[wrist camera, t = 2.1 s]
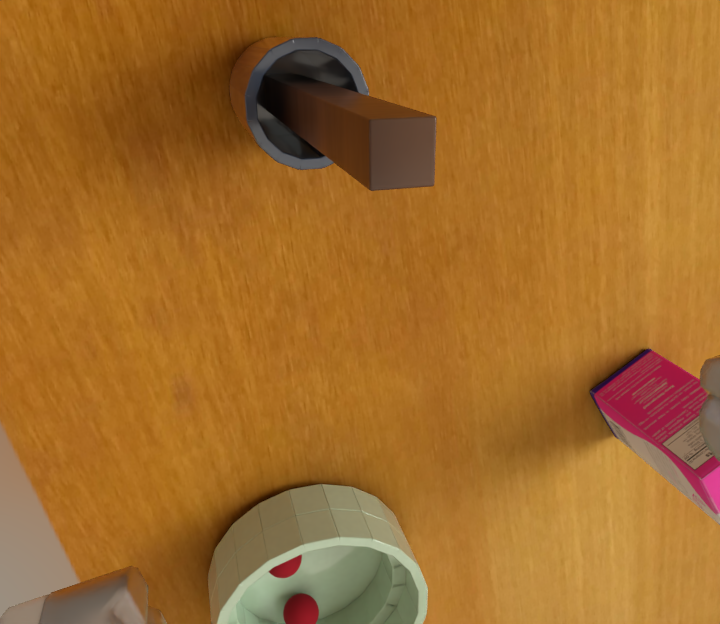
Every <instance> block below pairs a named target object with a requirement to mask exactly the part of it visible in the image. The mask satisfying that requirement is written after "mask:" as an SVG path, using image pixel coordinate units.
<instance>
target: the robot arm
mask: <svg viewBox="0 0 720 624" xmlns="http://www.w3.org/2000/svg"><path fill="white" fill-rule="evenodd" d="M700 386H701V387H702V388H703V389H704V390H705V391H706V392H707V393H708V394H709V395H708V396H707V398H706V400H705V401H704V403H703V405H702V407H701V408H700V410H699V427H700V432H701V434H702V436H703V439H704V441H705V443H706V446H707V448H708V449H709V450H710V451H711V453H712V454H713V455H714V456H715V458H716V459H717V460H718V461H719V462H720V355H718V356H715V357H713V358H710V359H707V360H706V361H705V363H704V365H703V366H702V368H701V371H700ZM0 624H167V623H166V621H165V619H164V617H163V615H162V613H161V611H160V610H157V609H155V608H153V607H150V606H148V585H147V583H146V582H145V580H144V578H143V576H142V574H141V573H140V571H139V569H138V568H136V567H133V566H129V567H126V568H123V569H120V570H117V571H114V572H111V573H108V574H105V575H102V576H99V577H96V578H93V579H90V580H87V581H84V582H81V583H78V584H75V585H72V586H70V587H67V588H63V589H60V590H57V591H55V592H52V593H51V594H49V595H45V596H42V597H39V598H36V599H33V600H30V601H27V602H24V603H21V604H18V605H15V606H12V607H9V608H8V609H7V610H6V612H5V613H4V614H3V615H2V616H1V618H0Z"/></svg>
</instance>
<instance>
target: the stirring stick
mask: <svg viewBox="0 0 720 624" xmlns="http://www.w3.org/2000/svg"><path fill="white" fill-rule="evenodd" d="M264 88H265V103H266V110H267V111H268V112H269V113H270V114H272V115H273V116H274V117H276V118H277V119H278V120H280V121H281V122H282V123H283V124H285V125H286V126H287V127H289V128H290V129H291V130H292V131H294V132H295V133H296V134H298V135H299V136H300V137H302V138H303V139H304V140H305V141H307V142H308V143H309V144H311V145H312V146H313V147H314V148H316V149H317V150H318V151H320V152H321V153H322V154H324V155H325V156H326V157H327V158H329V159H330V160H331V161H333V162H334V163H335V164H337V165H338V166H339V167H340V168H342V169H343V170H344V171H346V172H347V173H348V174H349V175H351V176H352V177H353V178H355V179H356V180H357V181H359V182H360V183H361V184H362V185H364V186H365V187H366V188H368V189H369V190H371V191H376V190H389V189H402V188H416V187H429V186H434V176H435V146H436V117H435V116H432V115H429V114H426V113H423V112H419V111H416V110H413V109H410V108H406V107H403V106H400V105H397V104H393V103H390V102H387V101H384V100H380V99H377V98H374V97H371V96H367V95H364V94H361V93H358V92H354V91H351V90H348V89H345V88H341V87H338V86H335V85H332V84H328V83H325V82H322V81H319V80H315V79H312V78H309V77H306V76H302V75H299V74H270V75H264Z"/></svg>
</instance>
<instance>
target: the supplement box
mask: <svg viewBox="0 0 720 624" xmlns="http://www.w3.org/2000/svg"><path fill="white" fill-rule="evenodd" d="M590 394H591V396H592V398H593V400H594V401H595V403H596V405H597V407H598V409H599V411H600V412H601V414H602V415H603V417H604V419H605V421H606V422H607V424H608V426H609V427H610V429H611V431H612V432H613V434H614V436H615V437H616V438H618V439H619V440H620V441H621V442H623V443H624V444H625V445H626V446H627V447H629V448H630V449H631V450H632V451H633V452H635V453H636V454H637V455H638V456H639V457H641V458H642V459H643V460H644V461H645V462H646V463H648V464H649V465H650V466H651V467H652V468H653V469H655V470H656V471H657V472H658V473H659V474H660V475H662V476H663V477H664V478H665V479H666V480H668V481H669V482H670V483H671V484H672V485H673V486H675V487H676V488H677V489H678V490H679V491H680V492H682V493H683V494H684V495H685V496H686V497H687V498H689V499H690V500H691V501H692V502H693V503H695V504H696V505H697V506H698V507H699V508H700V509H702V510H703V511H704V512H705V513H706V514H707V515H709V516H710V517H711V518H712V519H713V520H715V521H716V522H717V523H718V524H719V525H720V462H719V461H718V460H717V459H716V458H715V456H714V455H713V454H712V453H711V451H710V450H709V449H708V448H707V446H706V443H705V441H704V439H703V436H702V434H701V432H700V427H699V410H700V408H701V407H702V405H703V403H704V401H705V400H706V398H707V396H708V395H709V394H708V393H707V392H706V391H705V390H704V389H703V388H702V387H701V386H700V380H699V379H698V378H696V377H694V376H693V375H691V374H690V373H688V372H686V371H685V370H683V369H682V368H680V367H678V366H677V365H675V364H673V363H672V362H670V361H669V360H667V359H665V358H664V357H662V356H660V355H659V354H657V353H656V352H654V351H652V350H651V349H647V350H645V351H644V352H643V353H641V354H640V355H639V356H637V357H636V358H635V359H633V360H632V361H630V362H629V363H628V364H626V365H625V366H624V367H622V368H621V369H620V370H618V371H617V372H616V373H614V374H613V375H612V376H610V377H609V378H607V379H606V380H605V381H603V382H602V383H600V384H599V385H598V386H596V387H595V388H593V389H592V390H591V391H590Z"/></svg>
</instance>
